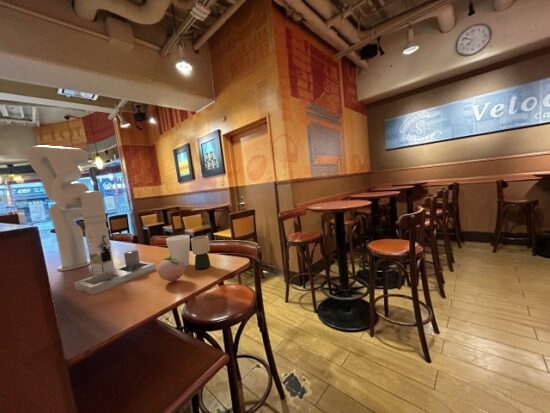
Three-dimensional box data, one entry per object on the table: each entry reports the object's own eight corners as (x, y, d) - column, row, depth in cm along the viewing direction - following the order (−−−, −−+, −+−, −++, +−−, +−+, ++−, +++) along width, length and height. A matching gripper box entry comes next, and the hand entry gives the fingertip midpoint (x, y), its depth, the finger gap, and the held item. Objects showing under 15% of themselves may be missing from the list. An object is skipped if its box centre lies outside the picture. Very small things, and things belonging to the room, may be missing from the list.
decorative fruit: (154, 285, 82) (150, 258, 81) (173, 276, 89) (169, 251, 88) (172, 289, 78) (168, 261, 77) (190, 279, 85) (187, 253, 84)
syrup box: (115, 270, 102) (110, 238, 100) (104, 275, 96) (98, 242, 94) (103, 270, 102) (98, 239, 101) (91, 276, 96) (86, 242, 95)
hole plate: (75, 288, 84) (71, 265, 83) (138, 265, 105) (135, 247, 104) (92, 294, 78) (88, 269, 77) (156, 269, 99) (153, 249, 98)
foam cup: (170, 265, 102) (166, 237, 101) (191, 261, 106) (188, 233, 105) (170, 272, 94) (166, 241, 93) (193, 267, 98) (190, 237, 96)
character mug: (218, 266, 96) (215, 236, 95) (204, 272, 91) (200, 241, 89) (201, 262, 103) (198, 234, 101) (188, 268, 97) (184, 238, 95)
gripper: (75, 221, 97) (81, 261, 99) (95, 222, 89) (102, 265, 91) (95, 218, 104) (101, 255, 106) (116, 218, 96) (122, 259, 98)
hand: (101, 259), depth 98 cm, fingers closed on syrup box, 7 cm apart
